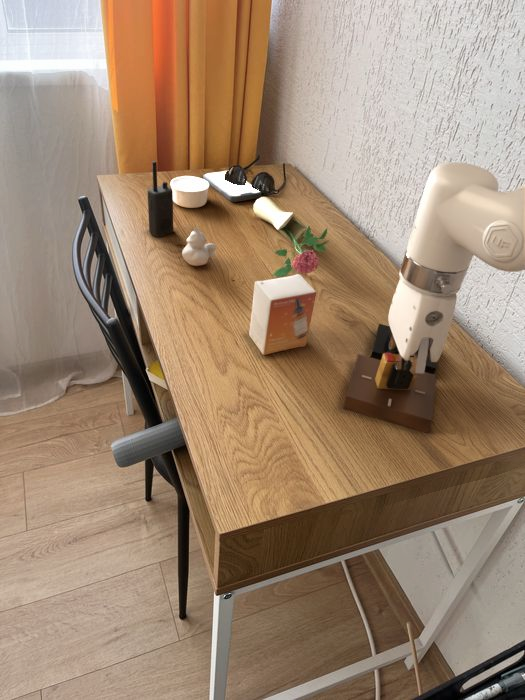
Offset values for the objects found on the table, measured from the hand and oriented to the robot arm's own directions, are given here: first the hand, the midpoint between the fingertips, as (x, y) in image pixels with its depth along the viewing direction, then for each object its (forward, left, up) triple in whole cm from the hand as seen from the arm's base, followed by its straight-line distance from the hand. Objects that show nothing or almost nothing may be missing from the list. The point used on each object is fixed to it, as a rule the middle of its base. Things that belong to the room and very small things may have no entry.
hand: (394, 379), depth 75 cm
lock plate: (0, 0, -4) cm, 4 cm away
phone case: (+47, -60, -4) cm, 76 cm away
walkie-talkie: (+52, -31, -4) cm, 61 cm away
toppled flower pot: (+26, -34, -4) cm, 43 cm away
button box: (-1, -11, -4) cm, 12 cm away
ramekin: (+53, -48, -4) cm, 72 cm away
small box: (+19, -6, -4) cm, 20 cm away
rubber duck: (+40, -23, -4) cm, 46 cm away
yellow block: (0, 0, -1) cm, 1 cm away
